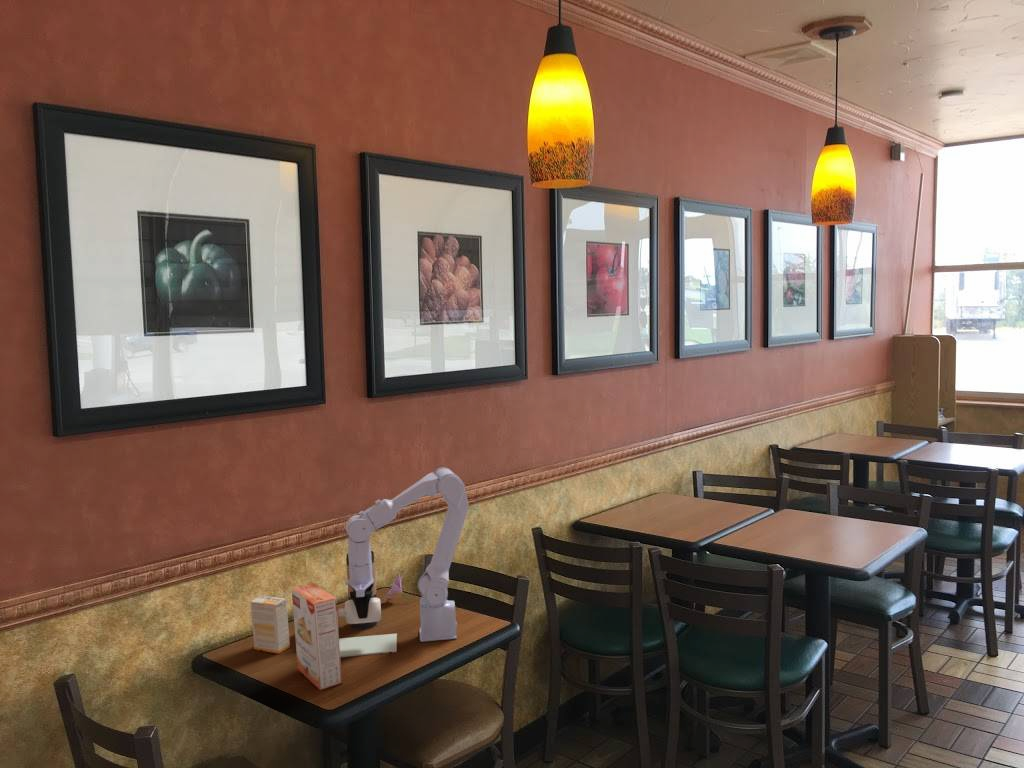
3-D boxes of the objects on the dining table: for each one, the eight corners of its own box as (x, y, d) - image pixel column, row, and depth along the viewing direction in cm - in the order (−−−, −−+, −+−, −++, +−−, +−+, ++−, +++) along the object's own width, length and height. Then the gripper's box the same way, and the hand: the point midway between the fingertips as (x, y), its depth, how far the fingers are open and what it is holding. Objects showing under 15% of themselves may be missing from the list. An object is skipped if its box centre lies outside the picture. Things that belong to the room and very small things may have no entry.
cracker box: (296, 671, 200) (290, 587, 198) (319, 663, 204) (314, 581, 202) (318, 692, 189) (312, 603, 187) (343, 684, 192) (337, 597, 190)
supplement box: (291, 647, 215) (287, 598, 213) (278, 654, 210) (274, 604, 209) (266, 642, 218) (262, 594, 217) (253, 649, 214) (249, 600, 212)
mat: (396, 634, 220) (396, 633, 219) (396, 652, 209) (396, 650, 209) (335, 640, 218) (335, 638, 217) (331, 658, 207) (331, 656, 207)
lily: (409, 595, 252) (392, 569, 252) (430, 588, 244) (413, 561, 243) (382, 619, 244) (364, 592, 243) (403, 613, 235) (385, 585, 235)
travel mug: (384, 621, 229) (379, 551, 227) (365, 631, 223) (360, 559, 220) (363, 617, 233) (359, 547, 231) (344, 626, 227) (339, 555, 225)
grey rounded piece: (381, 615, 215) (380, 596, 214) (381, 621, 211) (380, 602, 210) (340, 619, 214) (338, 600, 213) (338, 625, 210) (337, 606, 209)
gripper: (346, 555, 218) (349, 605, 219) (342, 573, 203) (345, 626, 205) (373, 553, 218) (376, 603, 220) (371, 571, 204) (374, 624, 205)
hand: (363, 614), depth 212 cm, fingers closed on grey rounded piece, 4 cm apart
